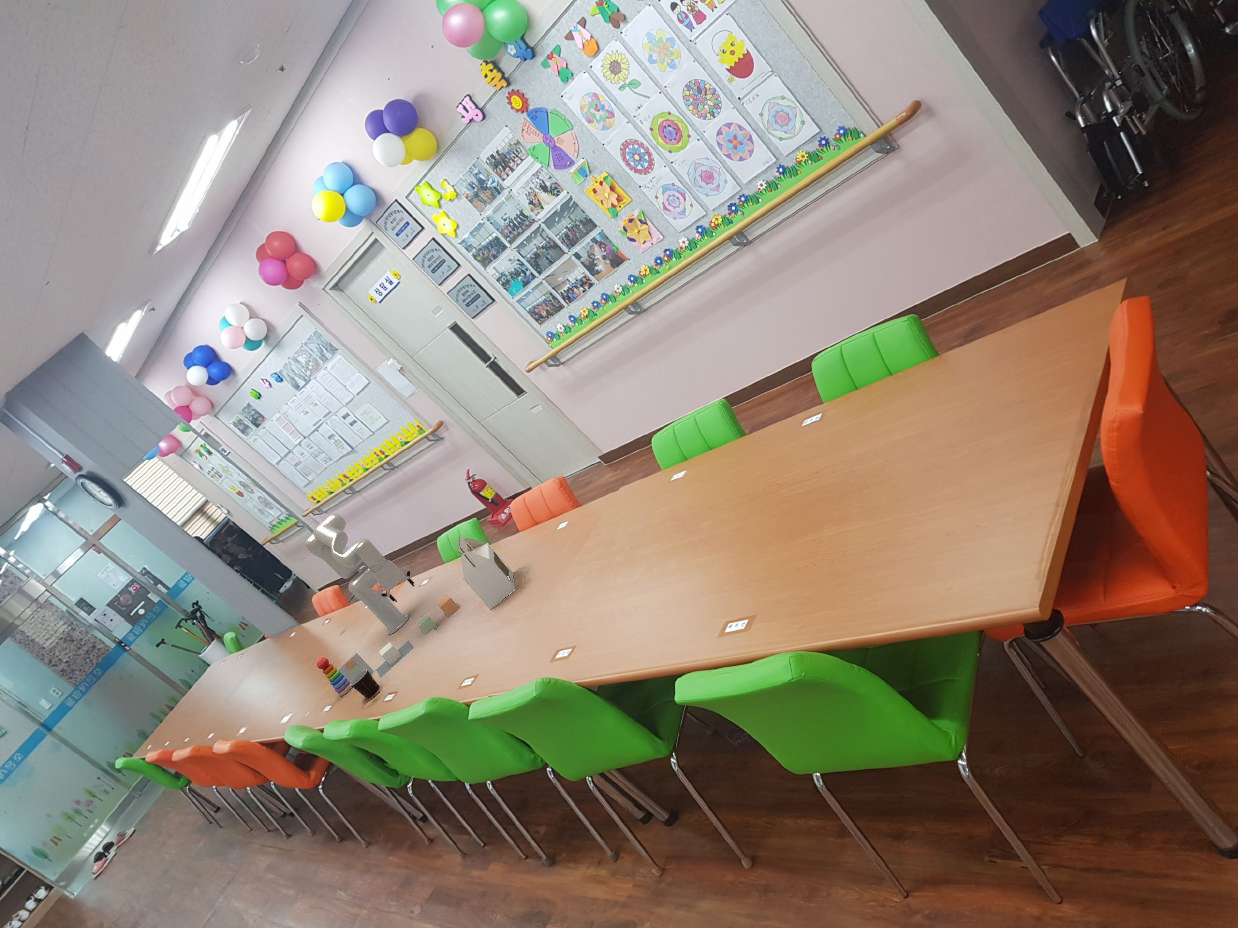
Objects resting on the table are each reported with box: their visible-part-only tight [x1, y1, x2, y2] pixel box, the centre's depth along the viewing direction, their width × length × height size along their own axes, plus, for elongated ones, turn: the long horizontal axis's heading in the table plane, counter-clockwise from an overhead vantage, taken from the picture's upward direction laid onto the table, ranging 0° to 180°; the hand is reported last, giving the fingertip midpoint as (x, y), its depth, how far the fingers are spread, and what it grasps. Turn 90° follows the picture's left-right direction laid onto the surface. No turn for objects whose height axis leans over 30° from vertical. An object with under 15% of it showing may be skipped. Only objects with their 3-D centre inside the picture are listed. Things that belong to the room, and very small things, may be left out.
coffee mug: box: [350, 669, 381, 701], centre depth 332 cm, size 12×9×10 cm
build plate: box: [375, 640, 415, 679], centre depth 352 cm, size 14×18×1 cm
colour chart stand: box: [337, 652, 375, 683], centre depth 353 cm, size 4×10×12 cm, turn 120°
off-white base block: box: [378, 641, 402, 666], centre depth 351 cm, size 8×6×6 cm
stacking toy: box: [316, 657, 353, 697], centre depth 359 cm, size 8×8×19 cm
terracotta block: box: [436, 594, 460, 618], centre depth 361 cm, size 8×6×6 cm
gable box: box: [457, 535, 517, 610], centre depth 338 cm, size 22×13×28 cm, turn 13°
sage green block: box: [415, 613, 439, 635], centre depth 357 cm, size 8×6×6 cm
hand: (405, 593), depth 354 cm, fingers open, 9 cm apart
